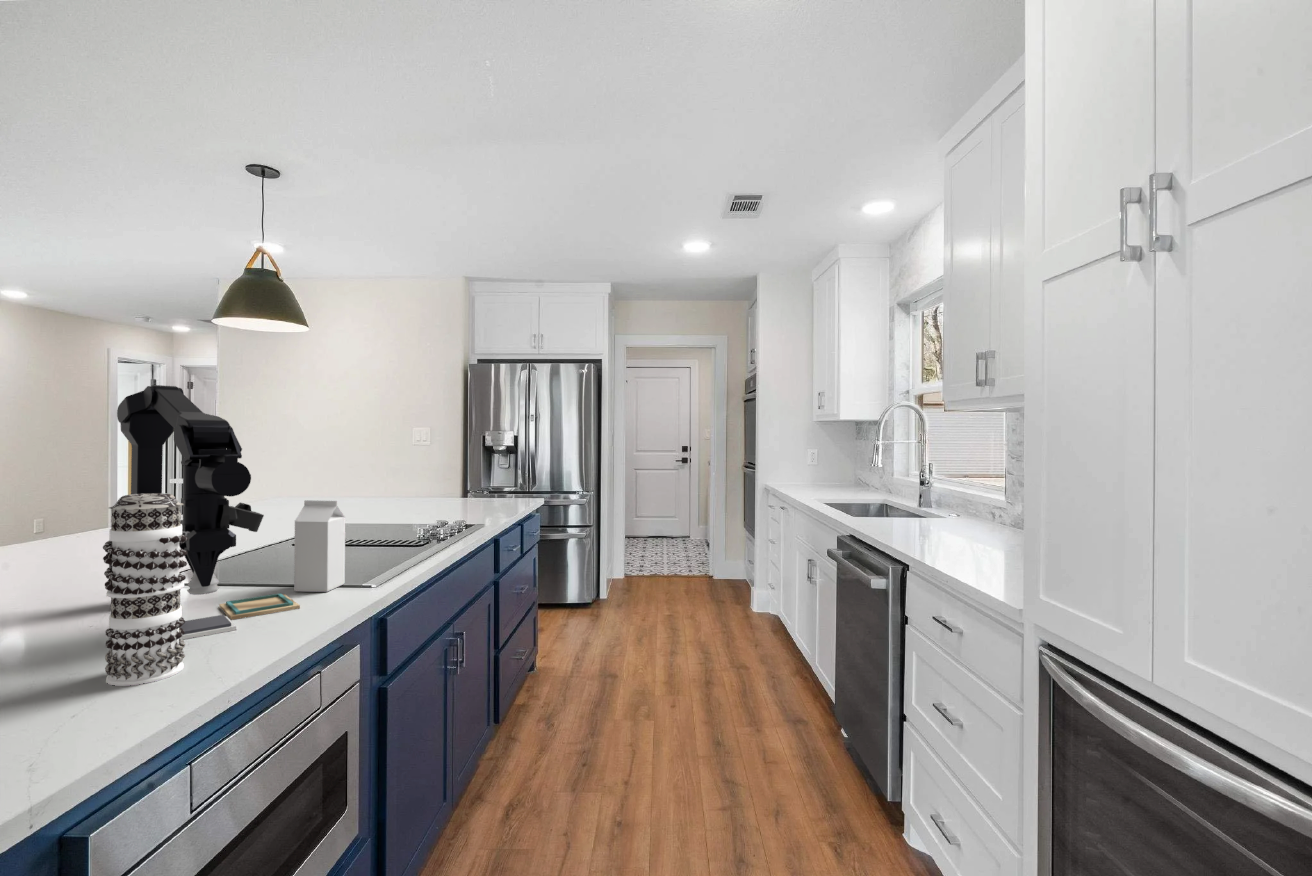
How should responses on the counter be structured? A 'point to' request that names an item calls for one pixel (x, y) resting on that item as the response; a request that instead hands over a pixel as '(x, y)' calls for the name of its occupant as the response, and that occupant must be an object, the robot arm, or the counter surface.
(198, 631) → the ink pad
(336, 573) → the milk carton
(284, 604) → the print board
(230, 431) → the robot arm
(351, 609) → the counter surface
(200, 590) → the rook chess piece
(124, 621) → the decorative candle
